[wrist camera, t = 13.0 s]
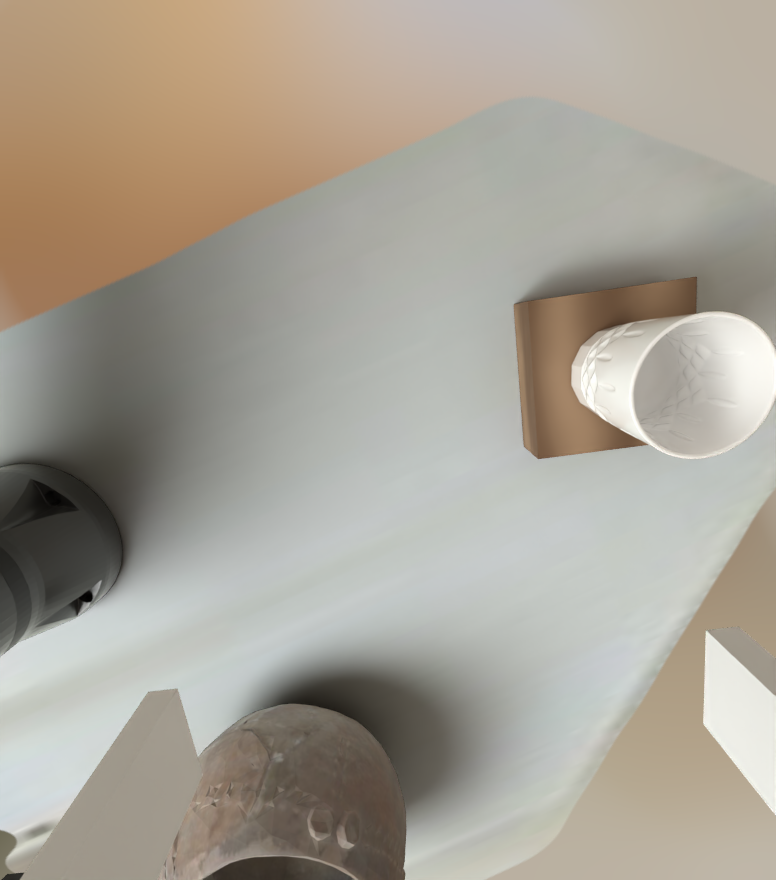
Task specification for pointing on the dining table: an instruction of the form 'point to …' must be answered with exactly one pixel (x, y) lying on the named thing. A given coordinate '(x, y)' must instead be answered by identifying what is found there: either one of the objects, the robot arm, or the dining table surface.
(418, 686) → the dining table surface
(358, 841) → the clay pot
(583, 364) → the white cup
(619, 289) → the walnut plinth
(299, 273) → the dining table surface
